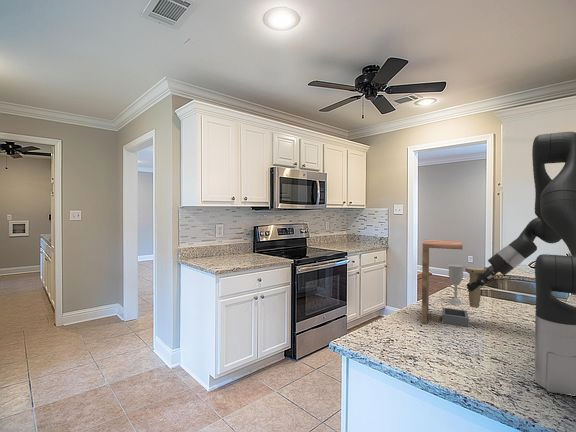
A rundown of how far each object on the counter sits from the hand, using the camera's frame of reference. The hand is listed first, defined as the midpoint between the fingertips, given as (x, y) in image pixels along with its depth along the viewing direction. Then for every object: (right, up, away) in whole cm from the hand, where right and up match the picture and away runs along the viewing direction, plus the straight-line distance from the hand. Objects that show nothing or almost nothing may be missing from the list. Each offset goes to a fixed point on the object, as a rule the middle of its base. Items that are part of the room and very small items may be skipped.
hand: (468, 288), depth 122 cm
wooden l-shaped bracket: (-9, -14, +5) cm, 17 cm away
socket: (-4, -14, +2) cm, 15 cm away
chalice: (+9, -13, +26) cm, 31 cm away
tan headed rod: (+2, -7, -1) cm, 7 cm away
